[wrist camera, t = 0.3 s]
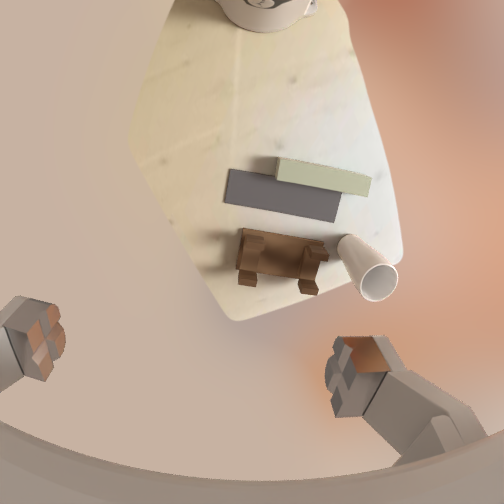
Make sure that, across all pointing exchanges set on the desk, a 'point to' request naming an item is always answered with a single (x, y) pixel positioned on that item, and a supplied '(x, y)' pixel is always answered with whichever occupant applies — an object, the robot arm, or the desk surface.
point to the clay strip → (322, 176)
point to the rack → (279, 258)
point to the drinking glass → (367, 268)
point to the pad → (281, 196)
